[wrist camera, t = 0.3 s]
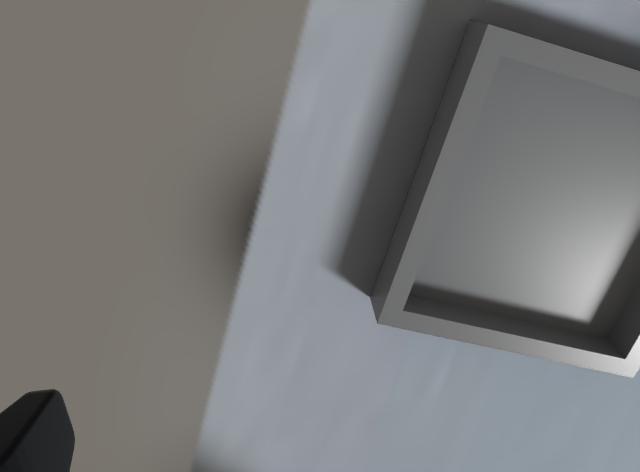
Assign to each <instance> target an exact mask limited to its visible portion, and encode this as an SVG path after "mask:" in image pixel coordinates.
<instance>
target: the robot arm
mask: <svg viewBox="0 0 640 472" xmlns="http://www.w3.org/2000/svg"><path fill="white" fill-rule="evenodd" d="M74 443H75V438H74V431H73V428H72V424H71V421H70V419H69V415H68V413H67V409H66V406H65V403H64V400H63V397H62V395H61V394H60V392H59V391H57V390H55V389H50V390H41V391H32V392H28V393H26V394H25V395H23V396H22V397H21V398H20V399H18V400H17V401H16V402H14V403H13V404H12V405H11V406H9V407H8V408H7V409H5V410H4V411H3V412H2V413H0V472H69V471H70V466H71V461H72V456H73V451H74Z"/></svg>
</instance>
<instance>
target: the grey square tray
mask: <svg viewBox="0 0 640 472" xmlns="http://www.w3.org/2000/svg"><path fill="white" fill-rule="evenodd" d="M370 299H371V302H372V306H373V310H374V313H375V317H376V320H377V323H378V324H382V325H387V326H392V327H397V328H401V329H406V330H411V331H415V332H420V333H425V334H429V335H434V336H439V337H443V338H448V339H453V340H458V341H462V342H467V343H472V344H476V345H481V346H486V347H490V348H495V349H500V350H504V351H509V352H514V353H519V354H523V355H528V356H533V357H537V358H542V359H547V360H551V361H556V362H561V363H566V364H570V365H575V366H580V367H584V368H589V369H594V370H598V371H603V372H608V373H612V374H617V375H622V376H627V377H631V378H634V376H635V374H636V372H637V371H638V369H639V367H640V71H638V70H635V69H632V68H628V67H625V66H622V65H619V64H615V63H612V62H609V61H606V60H603V59H599V58H596V57H593V56H590V55H587V54H583V53H580V52H577V51H574V50H570V49H567V48H564V47H561V46H558V45H554V44H551V43H548V42H545V41H541V40H538V39H535V38H532V37H529V36H525V35H522V34H519V33H516V32H513V31H509V30H506V29H503V28H500V27H496V26H493V25H490V24H486V23H482V22H477V21H473V20H470V21H469V24H468V27H467V30H466V33H465V35H464V38H463V41H462V44H461V46H460V49H459V52H458V55H457V58H456V60H455V63H454V66H453V69H452V72H451V74H450V77H449V80H448V83H447V86H446V88H445V91H444V94H443V97H442V100H441V102H440V105H439V108H438V111H437V113H436V116H435V119H434V122H433V125H432V127H431V130H430V133H429V136H428V139H427V141H426V144H425V147H424V150H423V153H422V155H421V158H420V161H419V164H418V167H417V169H416V172H415V175H414V178H413V180H412V183H411V186H410V189H409V192H408V194H407V197H406V200H405V203H404V206H403V208H402V211H401V214H400V217H399V220H398V222H397V225H396V228H395V231H394V233H393V236H392V239H391V242H390V245H389V247H388V250H387V253H386V256H385V259H384V261H383V264H382V267H381V270H380V273H379V275H378V278H377V281H376V284H375V287H374V289H373V292H372V295H371V298H370Z"/></svg>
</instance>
